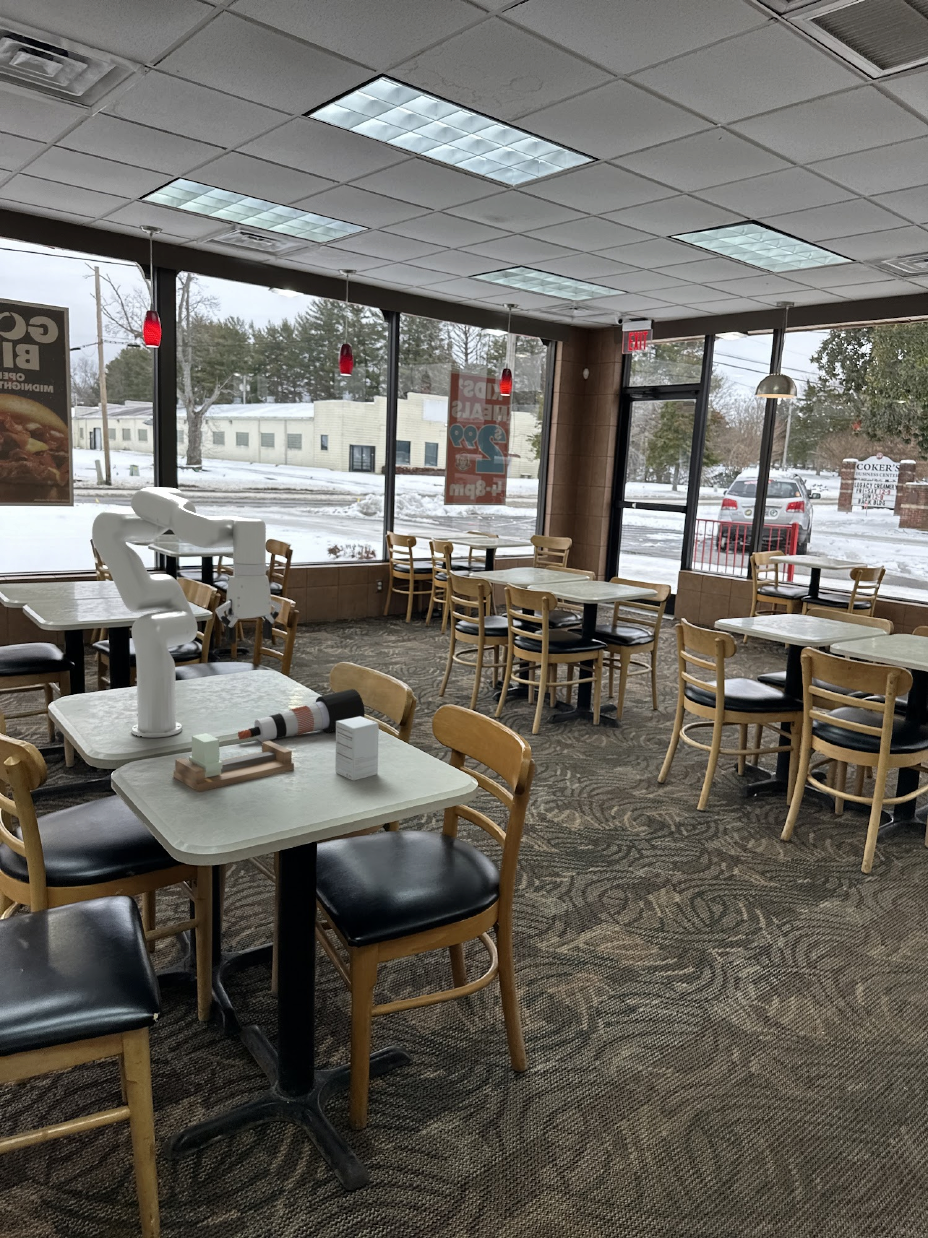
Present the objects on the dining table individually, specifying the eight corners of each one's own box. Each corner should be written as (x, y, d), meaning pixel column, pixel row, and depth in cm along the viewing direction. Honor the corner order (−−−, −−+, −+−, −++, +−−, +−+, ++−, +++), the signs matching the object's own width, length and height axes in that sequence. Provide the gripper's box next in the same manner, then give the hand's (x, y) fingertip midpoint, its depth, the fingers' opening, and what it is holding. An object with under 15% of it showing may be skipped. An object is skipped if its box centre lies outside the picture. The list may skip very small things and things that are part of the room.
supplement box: (359, 766, 206) (361, 715, 204) (378, 775, 201) (379, 722, 199) (334, 772, 201) (335, 720, 199) (352, 781, 196) (353, 727, 194)
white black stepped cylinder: (239, 758, 222) (229, 721, 224) (353, 727, 241) (343, 693, 243) (250, 751, 214) (239, 712, 216) (368, 720, 233) (357, 685, 235)
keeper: (188, 769, 194) (188, 735, 193) (205, 765, 197) (205, 731, 196) (205, 778, 189) (205, 743, 187) (222, 775, 191) (222, 740, 190)
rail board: (173, 776, 194) (173, 758, 193) (266, 756, 211) (267, 739, 210) (198, 791, 186) (198, 772, 185) (293, 769, 202) (294, 752, 201)
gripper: (272, 567, 214) (272, 635, 217) (208, 570, 202) (208, 641, 205) (289, 570, 209) (288, 639, 212) (224, 573, 197) (224, 647, 200)
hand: (249, 640), depth 208 cm, fingers open, 9 cm apart
